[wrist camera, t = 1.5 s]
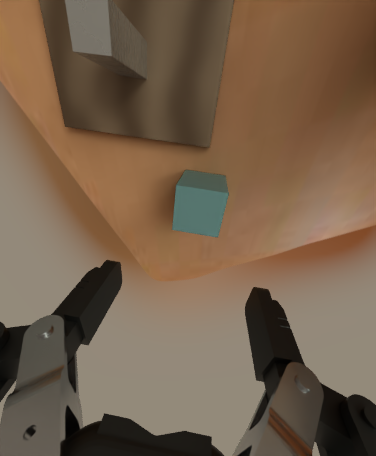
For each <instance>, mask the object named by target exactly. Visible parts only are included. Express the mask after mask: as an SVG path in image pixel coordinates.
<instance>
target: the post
mask: <svg viewBox="0 0 376 456" xmlns="http://www.w3.org/2000/svg"><path fill="white" fill-rule="evenodd" d="M65 4H66V10H67V17H68V23H69V29H70V36H71V42H72V48H73V52H75V53H77V54H79V55H81V56H83V57H85V58H87V59H89V60H91V61H93V62H95V63H97V64H99V65H101V66H103V67H105V68H107V69H109V70H111V71H113V72H115V73H117V74H118V75H120V76H126V77H134V78H142V79H147V41H146V40H145V39H144V38H143V37H142V35H141V34H140V33H139V32H138V31H137V29H136V28H135V27H134V26H133V25H132V23H131V22H130V21H129V20H128V19H127V17H126V16H125V15H124V14H123V13H122V11H121V10H120V9H119V8H118V7H117V5H116V4H115V3H114V2H113V1H112V0H65Z"/></svg>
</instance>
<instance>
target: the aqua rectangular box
mask: <svg viewBox="0 0 376 456" xmlns="http://www.w3.org/2000/svg"><path fill="white" fill-rule="evenodd" d="M228 195H229V192H228V187H227V182H226V177H225V176H224V175H218V174H211V173H205V172H198V171H191V170H185V172H184V173H183V175H182V176H181V178H180V180H179V181H178V183H177V184H176V192H175V204H174V216H173V227H172V230H177V231H182V232H188V233H194V234H200V235H206V236H212V237H218V235H219V231H220V227H221V223H222V219H223V215H224V211H225V207H226V203H227V199H228Z"/></svg>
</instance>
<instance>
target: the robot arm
mask: <svg viewBox="0 0 376 456" xmlns="http://www.w3.org/2000/svg"><path fill="white" fill-rule="evenodd" d="M121 284H122V273H121V264H120V262H115V261H110V260H106V261H105V262H104V263H103V265H102V266H101V267H100V268H98V267H95V268H94V269H92V270H91V271H89V272H88V273H87V274H86V275H85V276H84V277H83V278H82V279H81V281H80V282H79V283H78V284H77V285H76V287H75V288H74V289H73V290H72V291H71V292H70V294H69V295H68V296H67V297H66V298H65V300H64V301H63V302H62V303H61V304H60V305H59V307H58V308H57V309H56V310H55V311H54V313H52V314H51V315H49V316H46V317H43V318H41V319H39V320H37V321H36V322H34V323H33V324H32V325H28V326H19V327H11V328H6V327H5V326H4V324H3V323H1V322H0V402H1V400H2V399H3V398H4V396H5V395H6V393H7V392H8V391H9V389H10V388H11V386H12V385H13V383H14V382H15V381H16V379H17V381H16V386H15V389H14V391H13V393H12V394H10V395H9V396H8V397H7V399H6V401H5V404H4V408H3V413H2V418H1V423H0V456H224V455H223V454H222V453H221V452H220V451H219V450H218V449H217V448H216V447H214V446H213V445H211V440H212V439H211V437H210V436H205V435H201V434H196V433H191V432H187V431H182V432H176V433H170V434H165V435H159V436H155V435H153V434H151V433H150V432H148V431H147V430H145V429H144V428H142V427H141V426H139V425H138V424H137V423H135V422H134V421H132V420H131V419H128V418H123V417H119V416H114V415H109V414H104V416H103V418H102V421H97V422H94V423H92V424H89V425H87V426H85V427H83V421H82V410H81V404H80V399H79V392H78V374H77V357H76V351H77V349H78V347H79V346H80V344H84V345H89V343H90V341H91V340H92V338H93V336H94V334H95V333H96V331H97V329H98V327H99V325H100V324H101V322H102V320H103V318H104V317H105V315H106V313H107V311H108V309H109V308H110V306H111V304H112V302H113V301H114V299H115V297H116V295H117V294H118V292H119V290H120V288H121ZM245 316H246V322H247V328H248V334H249V339H250V346H251V351H252V358H253V364H254V370H255V376H256V380H258V381H262V382H264V384H265V389H266V390H265V391H264V394H263V396H262V398H261V400H260V402H259V404H258V407H257V409H256V411H255V413H254V415H253V417H252V420H251V422H250V424H249V426H248V428H247V430H246V432H245V434H244V435H243V437H242V439H241V440H240V442H239V444H238V446H237V447H236V449H235V452H234V454H233V456H312V449H313V445H314V441H315V442H316V443H317V446H318V450H319V453H320V456H376V405H375V404H374V403H372V402H371V401H370V400H368V399H367V398H365V397H363V396H360V395H356V394H354V395H351V396H349V397H348V398H347V397H345V396H343V395H341V394H339V393H337V392H336V391H334V390H332V389H330V388H328V387H327V386H325V385H323V384H321V383H320V382H319V380H318V379H317V377H316V376H315V374H314V373H313V372H312V371H311V370H310V369H309V368H307V367H306V366H305V364H304V362H303V359H302V357H301V354H300V352H299V349H298V346H297V344H296V341H295V338H294V336H293V333H292V330H291V329H290V325H289V323H288V321H287V317H286V315H285V312H284V309H283V308H282V307H281V305H280V304H279V303H278V302H277V301H276V300H272V298H271V295H270V292H269V290H268V289H263V288H257V287H254V288H253V289H252V291H251V293H250V296H249V298H248V300H247V302H246V306H245Z"/></svg>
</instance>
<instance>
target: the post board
mask: <svg viewBox="0 0 376 456" xmlns="http://www.w3.org/2000/svg"><path fill="white" fill-rule="evenodd" d="M112 1H113V2H114V3H115V4H116V5H117V7H118V8H119V9H120V10H121V11H122V13H123V14H124V15H125V16H126V17H127V19H128V20H129V21H130V22H131V23H132V25H133V26H134V27H135V28H136V29H137V31H138V32H139V33H140V34H141V35H142V37H143V38H144V39H145V40H146V41H147V79H142V78H134V77H126V76H120V75H118V74H117V73H115V72H113V71H111V70H109V69H107V68H105V67H103V66H101V65H99V64H97V63H95V62H93V61H91V60H89V59H87V58H85V57H83V56H81V55H79V54H77V53H75V52H73V48H72V42H71V36H70V29H69V23H68V17H67V10H66V4H65V0H39V3H40V8H41V12H42V17H43V22H44V27H45V32H46V37H47V42H48V46H49V51H50V56H51V61H52V66H53V71H54V76H55V80H56V85H57V90H58V95H59V100H60V105H61V109H62V114H63V119H64V124H65V127H72V128H78V129H85V130H92V131H99V132H106V133H113V134H120V135H127V136H134V137H140V138H147V139H154V140H161V141H168V142H175V143H182V144H189V145H195V146H202V147H210V142H211V136H212V130H213V124H214V118H215V112H216V106H217V100H218V94H219V88H220V82H221V76H222V69H223V63H224V57H225V51H226V45H227V39H228V33H229V27H230V21H231V15H232V9H233V3H234V0H112Z"/></svg>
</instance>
